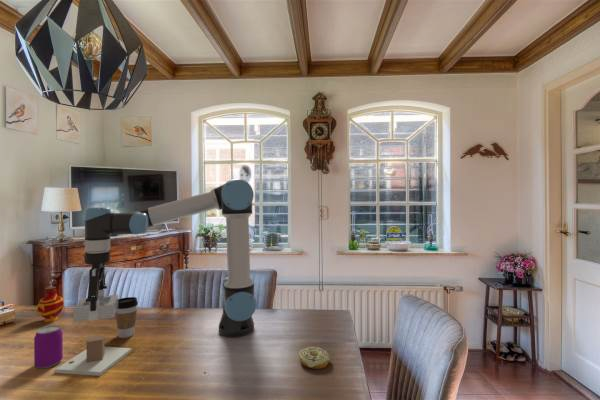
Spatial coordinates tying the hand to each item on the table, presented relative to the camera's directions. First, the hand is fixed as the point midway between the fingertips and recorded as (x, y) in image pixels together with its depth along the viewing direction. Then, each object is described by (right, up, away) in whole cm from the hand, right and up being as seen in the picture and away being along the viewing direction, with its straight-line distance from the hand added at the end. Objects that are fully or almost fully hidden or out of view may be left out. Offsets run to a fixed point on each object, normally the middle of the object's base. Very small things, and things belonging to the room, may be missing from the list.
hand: (96, 313), depth 110 cm
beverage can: (-16, -17, -2) cm, 23 cm away
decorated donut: (+76, -18, 0) cm, 78 cm away
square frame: (0, 0, 0) cm, 0 cm away
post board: (0, -17, 0) cm, 17 cm away
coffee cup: (-1, -17, +21) cm, 27 cm away
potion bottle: (-45, -16, +36) cm, 60 cm away
